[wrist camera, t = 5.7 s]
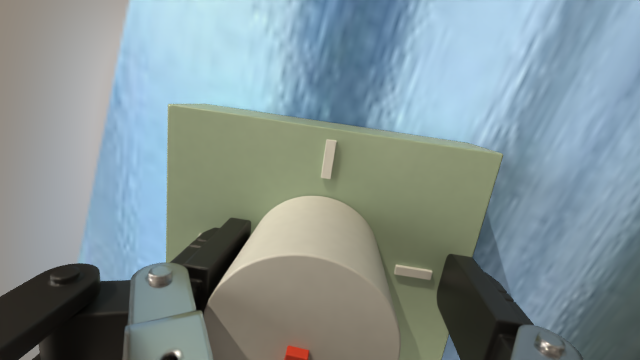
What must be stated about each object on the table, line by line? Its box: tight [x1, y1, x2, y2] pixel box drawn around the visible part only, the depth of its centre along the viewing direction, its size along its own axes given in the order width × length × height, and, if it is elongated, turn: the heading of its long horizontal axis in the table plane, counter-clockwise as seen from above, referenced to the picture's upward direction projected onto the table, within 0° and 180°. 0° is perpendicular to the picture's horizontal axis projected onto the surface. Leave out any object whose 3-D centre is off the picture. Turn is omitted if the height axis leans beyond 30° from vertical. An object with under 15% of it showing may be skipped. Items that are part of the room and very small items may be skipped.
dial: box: [203, 196, 401, 360], centre depth 9 cm, size 5×5×5 cm
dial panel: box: [166, 104, 503, 360], centre depth 13 cm, size 12×10×3 cm
